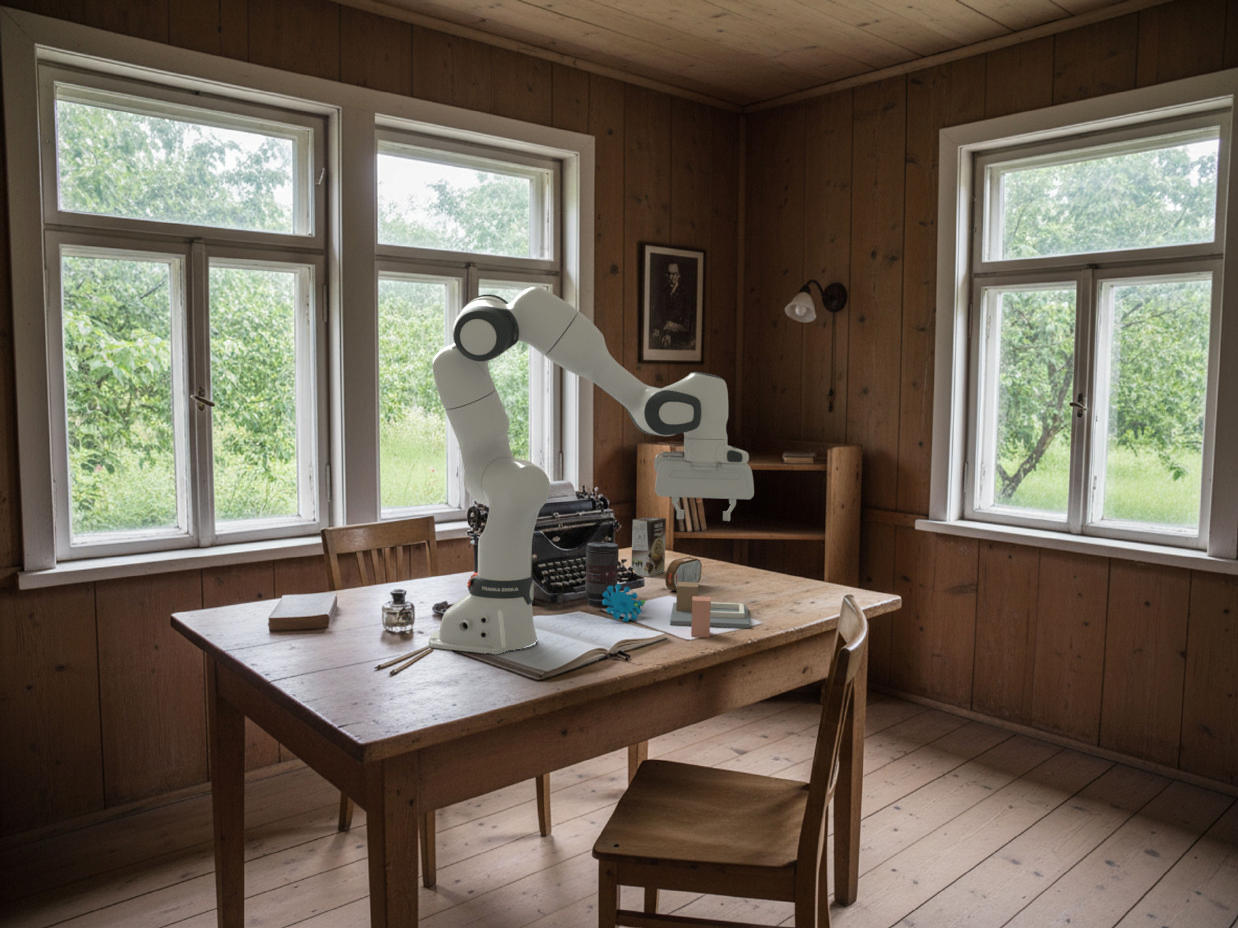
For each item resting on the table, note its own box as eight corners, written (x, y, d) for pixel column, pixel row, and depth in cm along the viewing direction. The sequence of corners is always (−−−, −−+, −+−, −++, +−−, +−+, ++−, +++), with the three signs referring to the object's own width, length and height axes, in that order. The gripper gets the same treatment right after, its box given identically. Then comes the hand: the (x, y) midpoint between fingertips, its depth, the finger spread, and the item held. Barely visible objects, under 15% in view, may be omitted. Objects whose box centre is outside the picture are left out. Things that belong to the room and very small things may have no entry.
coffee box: (649, 577, 266) (650, 521, 265) (630, 574, 270) (631, 519, 269) (665, 572, 274) (666, 517, 273) (646, 569, 278) (648, 515, 276)
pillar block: (691, 636, 204) (692, 600, 203) (691, 631, 208) (692, 596, 207) (709, 637, 204) (710, 601, 203) (709, 632, 208) (710, 597, 207)
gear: (608, 617, 212) (600, 580, 218) (598, 631, 216) (590, 594, 222) (651, 620, 217) (642, 584, 223) (640, 633, 221) (632, 597, 227)
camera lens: (621, 606, 231) (623, 546, 229) (590, 608, 228) (591, 547, 227) (611, 598, 238) (612, 540, 237) (581, 600, 236) (582, 541, 234)
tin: (693, 583, 259) (694, 553, 258) (703, 585, 257) (704, 555, 257) (663, 592, 247) (664, 561, 246) (673, 594, 245) (674, 562, 244)
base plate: (670, 624, 214) (670, 594, 213) (673, 606, 231) (674, 578, 231) (749, 628, 212) (750, 598, 211) (746, 609, 230) (747, 581, 229)
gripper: (653, 452, 189) (651, 520, 190) (755, 455, 187) (753, 523, 188) (655, 450, 195) (653, 515, 196) (754, 452, 193) (752, 519, 194)
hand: (703, 519), depth 192 cm, fingers open, 8 cm apart
